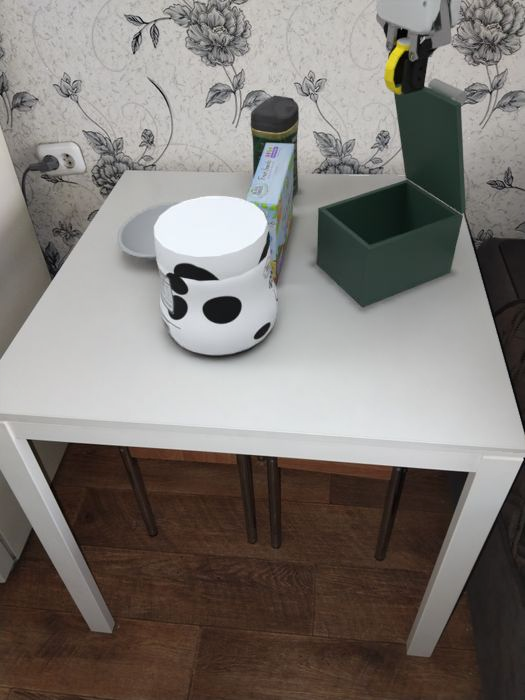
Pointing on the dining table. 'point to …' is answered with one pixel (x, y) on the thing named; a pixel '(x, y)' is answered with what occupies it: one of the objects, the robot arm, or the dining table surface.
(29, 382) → the dining table surface
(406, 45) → the watch
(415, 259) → the bin
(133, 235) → the dish
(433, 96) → the bin lid
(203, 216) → the doce de leite jar
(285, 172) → the snack box
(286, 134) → the coffee jar
